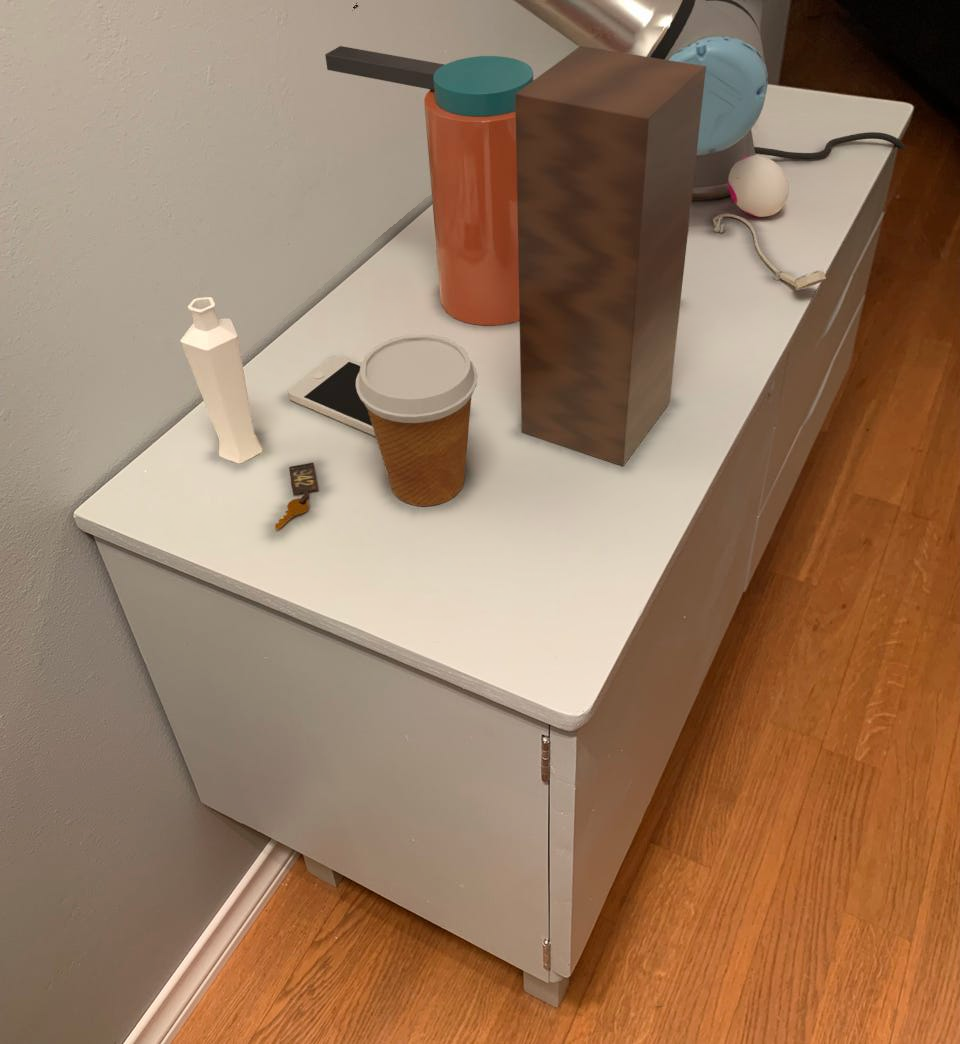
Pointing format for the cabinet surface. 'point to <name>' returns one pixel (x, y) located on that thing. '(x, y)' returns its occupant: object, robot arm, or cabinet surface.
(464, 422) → the disposable coffee cup
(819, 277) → the shower head
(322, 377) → the smartphone
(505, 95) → the disc paddle
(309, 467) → the key tag
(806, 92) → the cabinet surface
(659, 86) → the pillar
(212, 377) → the white hexagonal vase
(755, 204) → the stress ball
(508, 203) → the pedestal
